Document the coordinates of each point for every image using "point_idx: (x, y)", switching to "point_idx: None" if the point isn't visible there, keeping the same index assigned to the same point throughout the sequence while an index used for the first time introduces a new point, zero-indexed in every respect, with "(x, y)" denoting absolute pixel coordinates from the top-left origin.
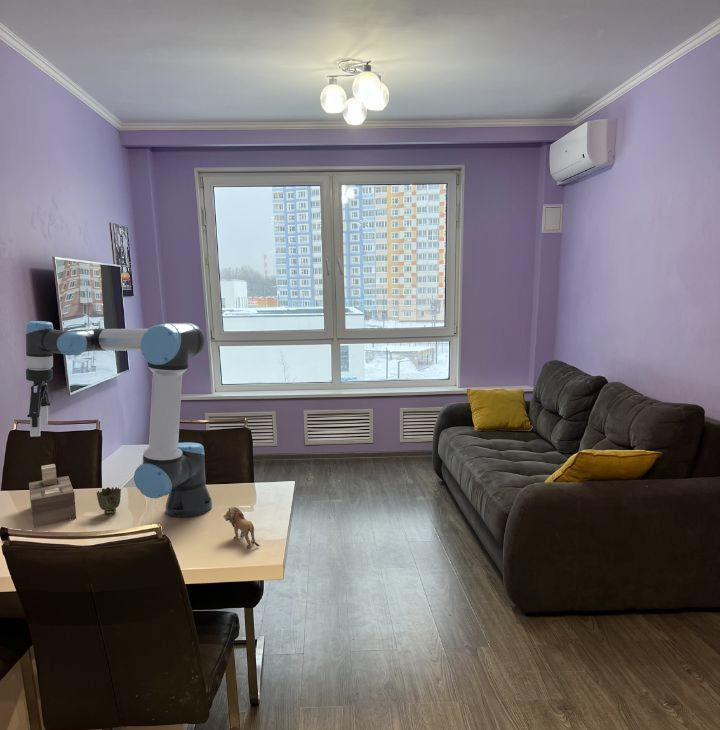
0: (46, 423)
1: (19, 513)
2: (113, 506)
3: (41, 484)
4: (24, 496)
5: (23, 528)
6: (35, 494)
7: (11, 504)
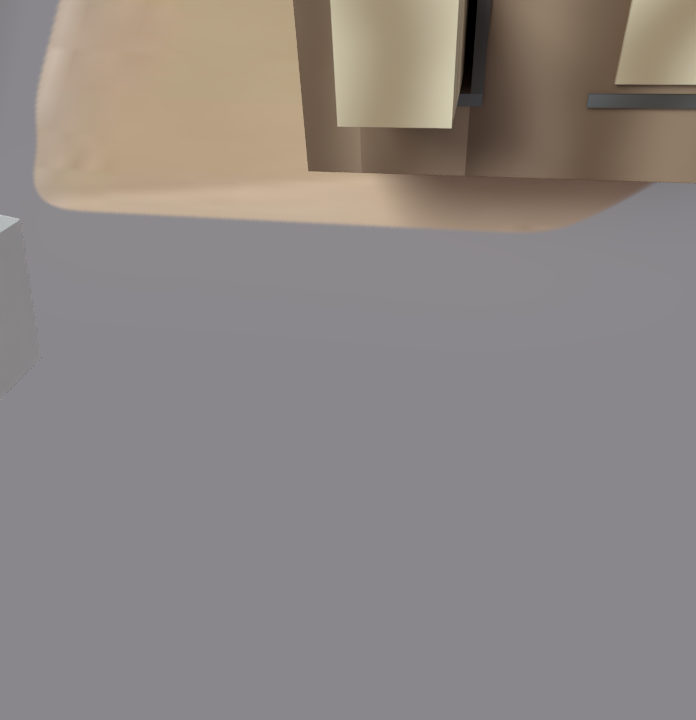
0: (4, 246)
1: None
2: None
3: None
4: (139, 136)
5: None
6: (645, 149)
7: (243, 199)
